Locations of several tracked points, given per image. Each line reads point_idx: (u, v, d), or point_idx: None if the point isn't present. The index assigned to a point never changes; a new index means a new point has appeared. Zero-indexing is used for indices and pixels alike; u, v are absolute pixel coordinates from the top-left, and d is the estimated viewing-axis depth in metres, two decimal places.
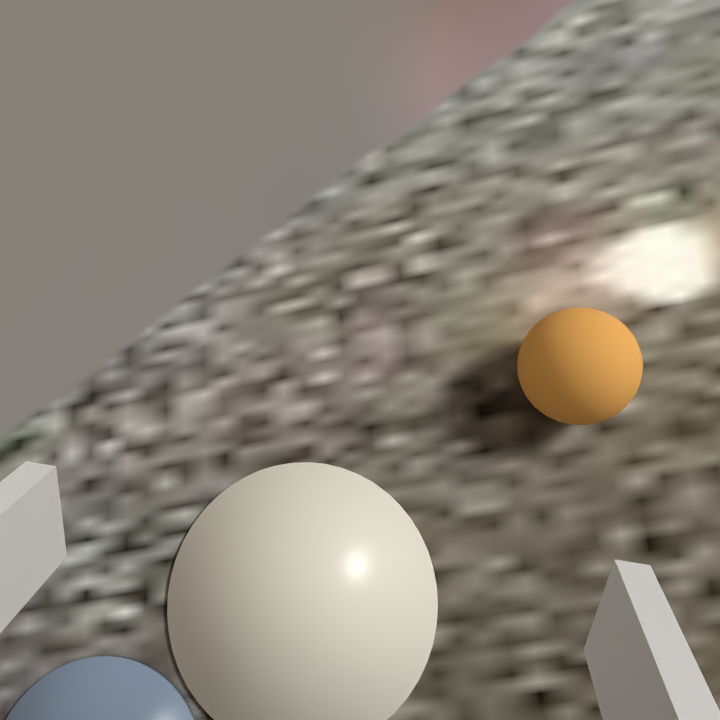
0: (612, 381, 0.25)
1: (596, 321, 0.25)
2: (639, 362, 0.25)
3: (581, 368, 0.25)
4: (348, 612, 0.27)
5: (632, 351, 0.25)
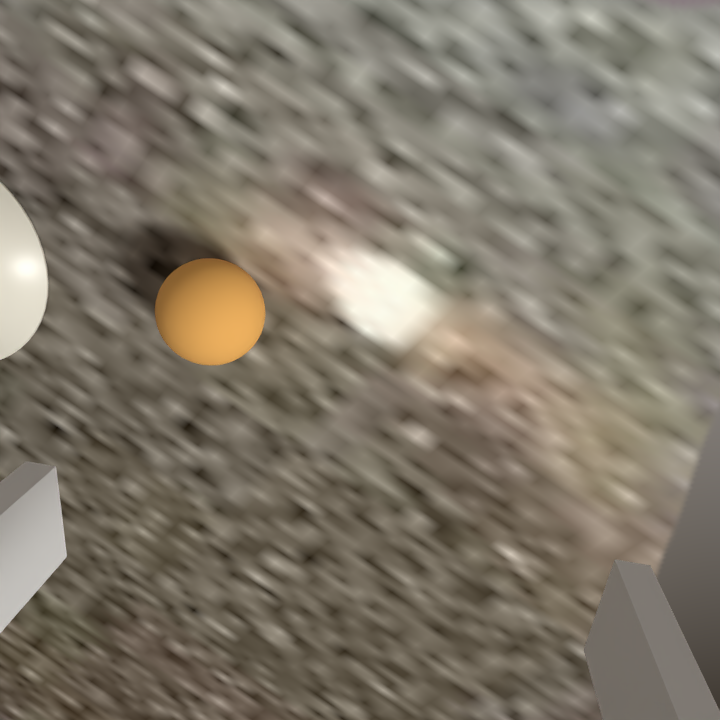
0: (188, 351, 0.28)
1: (218, 308, 0.27)
2: (226, 355, 0.29)
3: (172, 326, 0.28)
4: None
5: (224, 347, 0.28)
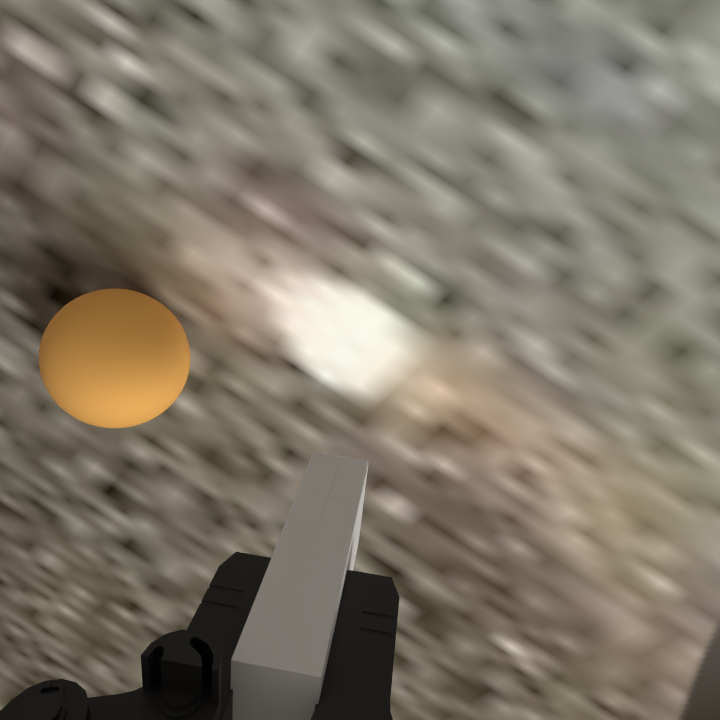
0: (79, 413, 0.21)
1: (114, 359, 0.20)
2: (133, 418, 0.22)
3: (55, 382, 0.21)
4: None
5: (126, 408, 0.21)
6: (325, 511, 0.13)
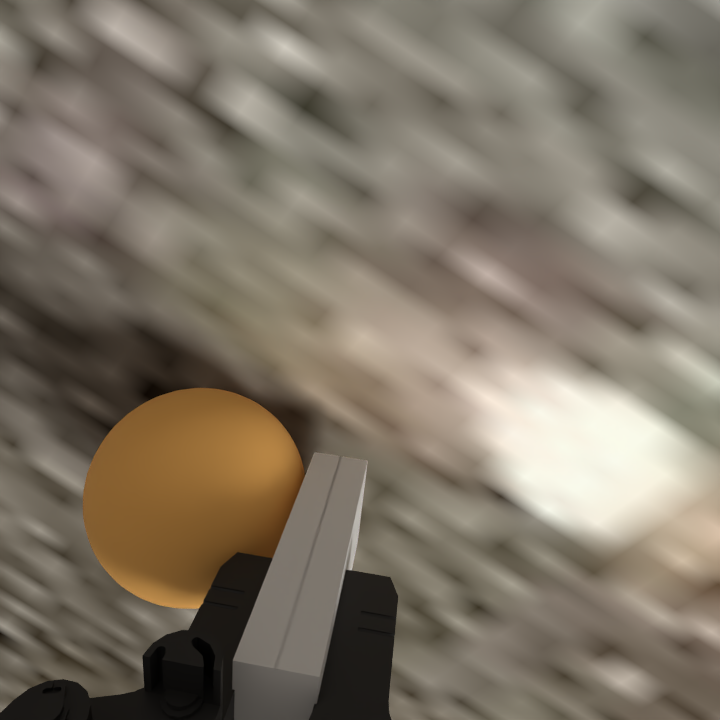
0: (115, 580, 0.14)
1: (154, 521, 0.12)
2: (185, 606, 0.13)
3: (86, 529, 0.14)
4: None
5: (170, 596, 0.13)
6: (326, 511, 0.13)
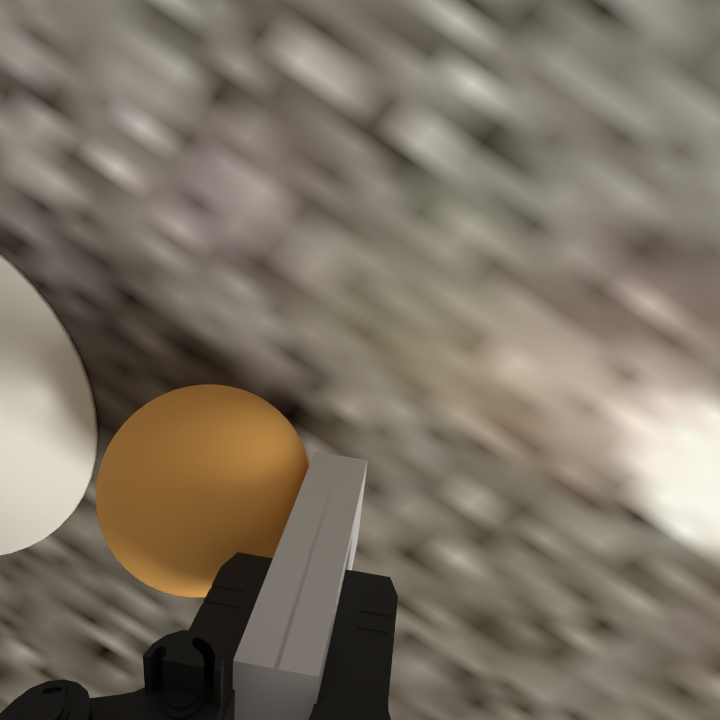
0: None
1: (114, 489, 0.13)
2: None
3: None
4: None
5: (124, 565, 0.14)
6: (326, 511, 0.13)
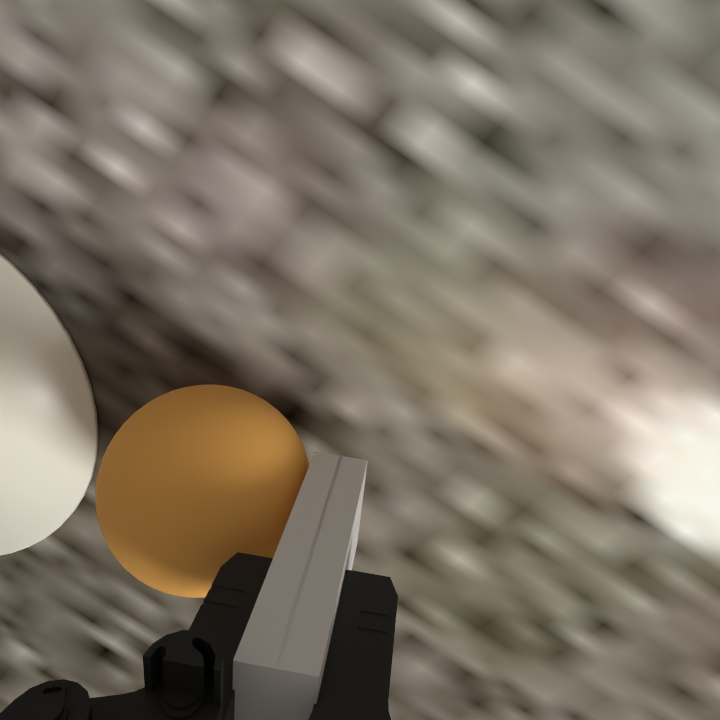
0: None
1: (113, 490, 0.13)
2: (143, 582, 0.14)
3: None
4: None
5: (124, 565, 0.14)
6: (326, 511, 0.13)
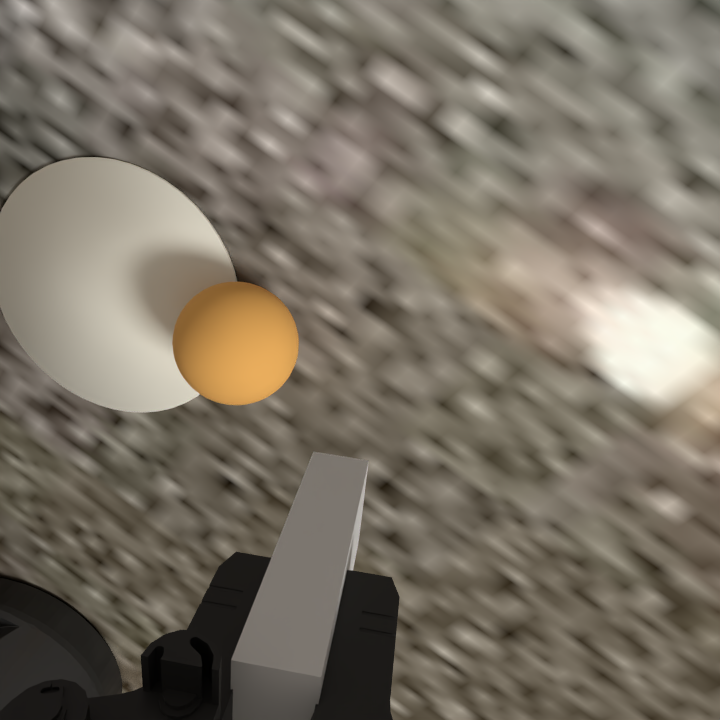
0: None
1: None
2: None
3: None
4: (142, 334, 0.29)
5: None
6: (325, 511, 0.13)
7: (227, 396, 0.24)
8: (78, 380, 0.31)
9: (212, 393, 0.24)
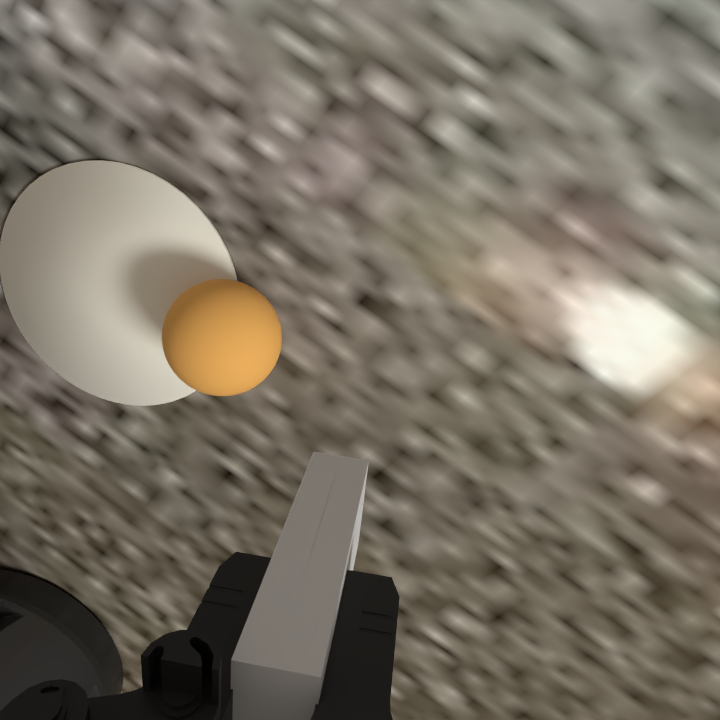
0: None
1: None
2: None
3: None
4: (145, 329, 0.31)
5: None
6: (325, 511, 0.13)
7: (202, 387, 0.26)
8: (83, 374, 0.32)
9: (189, 383, 0.26)
